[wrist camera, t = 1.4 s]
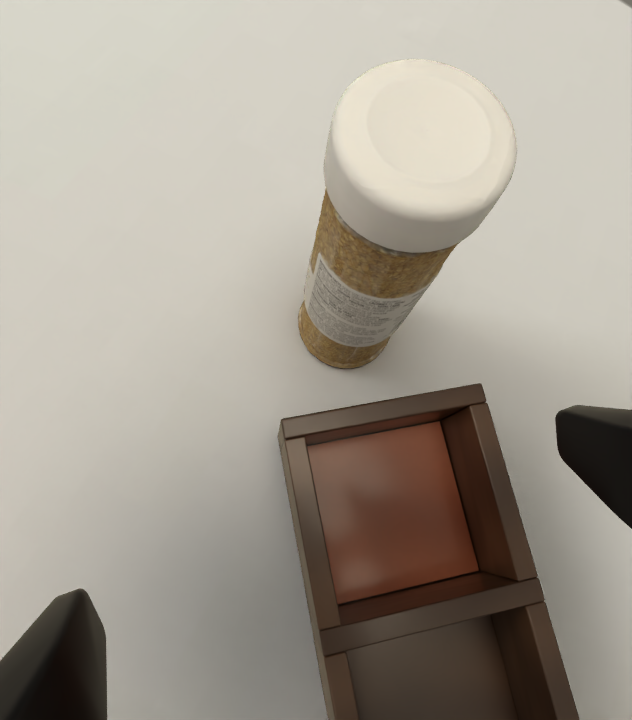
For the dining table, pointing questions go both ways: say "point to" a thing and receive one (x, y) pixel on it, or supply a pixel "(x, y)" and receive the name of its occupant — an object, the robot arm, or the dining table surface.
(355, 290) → the sprinkles bottle
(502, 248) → the dining table surface
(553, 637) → the wooden divided tray
